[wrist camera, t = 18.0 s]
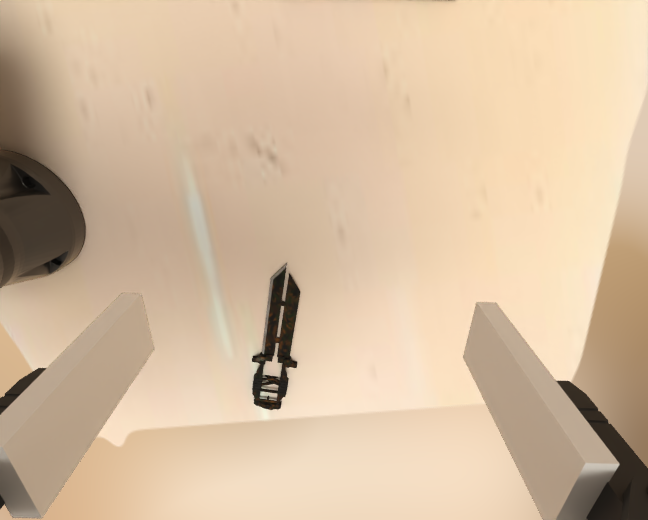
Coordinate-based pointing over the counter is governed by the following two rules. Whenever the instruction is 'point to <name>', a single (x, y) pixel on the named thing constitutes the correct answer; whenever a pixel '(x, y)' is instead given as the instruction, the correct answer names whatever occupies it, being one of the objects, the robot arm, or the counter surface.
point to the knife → (271, 340)
